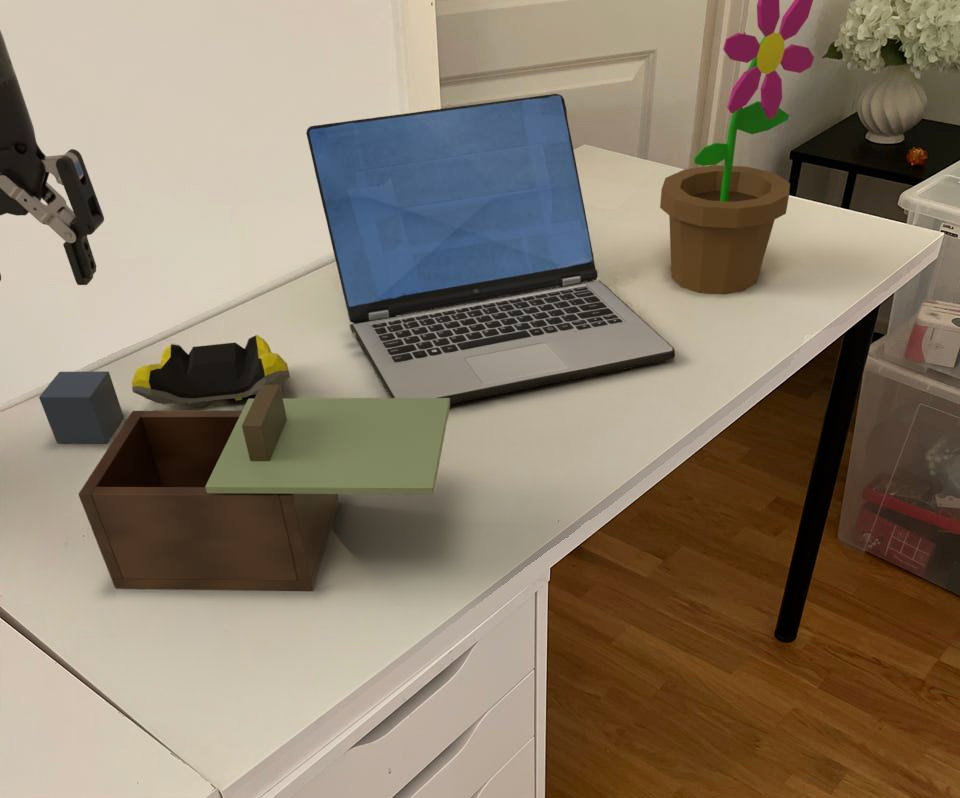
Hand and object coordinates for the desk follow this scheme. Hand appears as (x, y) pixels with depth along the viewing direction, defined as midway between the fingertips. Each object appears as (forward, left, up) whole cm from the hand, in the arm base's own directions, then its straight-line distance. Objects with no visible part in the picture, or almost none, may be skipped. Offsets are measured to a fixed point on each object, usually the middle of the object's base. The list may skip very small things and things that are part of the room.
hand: (39, 283), depth 85 cm
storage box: (+19, -18, -15) cm, 30 cm away
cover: (+29, -18, -5) cm, 35 cm away
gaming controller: (+11, +6, -15) cm, 20 cm away
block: (0, 0, -15) cm, 15 cm away
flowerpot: (+64, +35, -15) cm, 74 cm away
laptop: (+38, +22, -15) cm, 46 cm away
